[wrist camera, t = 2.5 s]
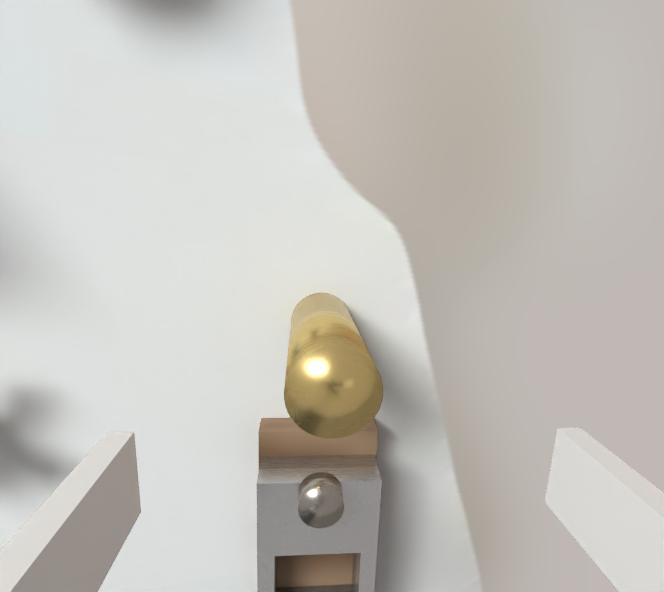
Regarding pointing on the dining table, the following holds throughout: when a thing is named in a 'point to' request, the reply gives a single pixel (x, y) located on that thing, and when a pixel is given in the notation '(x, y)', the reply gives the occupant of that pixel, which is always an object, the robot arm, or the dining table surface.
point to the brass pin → (329, 370)
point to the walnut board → (294, 441)
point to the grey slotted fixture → (318, 515)
